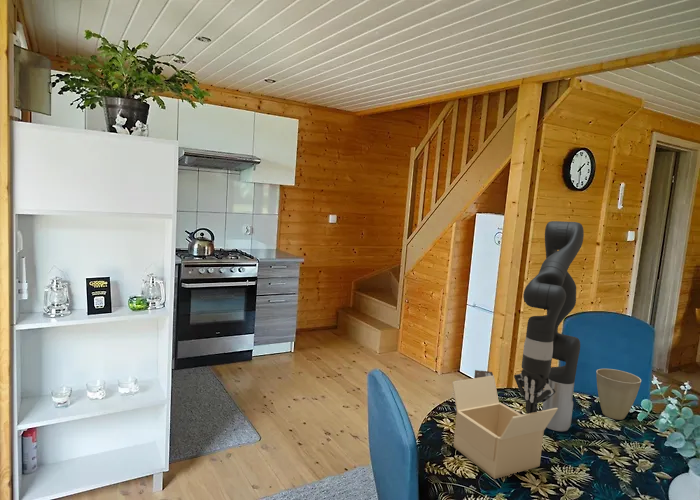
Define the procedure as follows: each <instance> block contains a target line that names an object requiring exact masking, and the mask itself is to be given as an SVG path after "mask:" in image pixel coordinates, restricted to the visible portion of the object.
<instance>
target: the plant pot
mask: <svg viewBox="0 0 700 500" xmlns="http://www.w3.org/2000/svg"><path fill="white" fill-rule="evenodd" d="M595 373H596V388H597V389H596V390H597V394H598V399H599V400H598V401H599V405H600V408H601V411H602V412H601V413H602V415H604V416H605V417H607V418H610V419H612V420H619V421H621V420H625V418H626V417H627V416H628V413H629V412H630V411H631V408H632V407H633V405H634V403H635V400H636V398H637V396H638V394H639V393H638V392H639V390H640V386H641V383H642V379H641V378H640V377H639V376H638V375H635V374H633V373H631V372H627V371H624V370H619V369H615V368H614V369H613V368H599V369H596V371H595Z"/></svg>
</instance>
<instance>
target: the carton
mask: <svg viewBox="0 0 700 500" xmlns="http://www.w3.org/2000/svg"><path fill="white" fill-rule="evenodd" d="M455 415H456V417H455V427H454V436H453V448H454V449H456V450H457V451H458V452H459V453H461V454H462V455H463V456H465V458H467V459H468V460H470V462H472V463H473V464H475V465H476V466H478V467H479V469H481V470H483V472H485V473H486V474H487V475H489V476H490V477H491V478H493V479H494V480H495V479H500V478H503V477H506V476H510V474H511V475H514V474H517V472H518V473H520V472H523V471H528V470H531V469H534V468H538V467H541V466H540V465H541V458H542V457H541V456H542V449H543V441H544V433H545V430H542V431H537V432H533V433H529V434H525V435H520V436H516V437H512V438H508V439H503V440H500V437H501V436H502V434H503V432H504V430H505V429H506V427H507V425H508V423H509V422H510V420H511V418H512V417H514V416H518V415H523V414H522V413H520V412H518V411H517V410H515V409H513V408H512V407H509V406H508V405H506V404H505V403H501V402H499V403H496V404H490V405H485V406H479V407H474V408H469V409H463V410H458V411H457V410H456V414H455ZM513 473H514V474H513Z"/></svg>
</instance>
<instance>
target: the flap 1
mask: <svg viewBox="0 0 700 500" xmlns="http://www.w3.org/2000/svg"><path fill="white" fill-rule="evenodd" d="M451 385H452V390H453V391H452V392H453V396H454V402H455V407H456V412H457V411H458V410H463V409H469V408H474V407H479V406H485V405H490V404H496V403H500V401H499V396H498V391H497V385H496V378H495V375H494V374H493V376H486V377H480V378H474V377H473V378H467V379H466V378H465V379H461V380H454V381H453V380H452V381H451Z"/></svg>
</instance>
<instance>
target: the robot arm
mask: <svg viewBox="0 0 700 500" xmlns="http://www.w3.org/2000/svg"><path fill="white" fill-rule="evenodd" d="M545 225H546V226H545V229H544V247H545V259H544V261H543V263H542V264H541V267H540V269H539V271H538V273H537V274H536V275H535V276H534V277H533V278H532V279H531V280H530V281H529V282H528V284H527V285H526V286H525V288H524V290H523V296H522V297H523V300H524V302H525V304H526V305H527V306H528V307H530V308H534V309H540V310H546V314H545V315H532V316H530V317H529V318H528V321H527V325H526V332H525V333H526V334H525V340H524V342H523V343H524V344H523V350H522V352H523V353H522V357H521V358H522V360H521V368H522V369H521V371H520V373H517V374H514V375H513V377H514V380H515V383H516V386H517V387H518V390H519V393H520V395H521V396H522V397H524V399H525V407H524V408H525V414H528V413H533V412H538V405H539V404H541V403H542V408H541V409H542V410H547V409H552V408H558V410H557V411H556V413H555V414H554V416H553V417H552V419H551V421H550V422H549V424H548V425H547V427H546V429H549V430H552V431H556V432H567V431H568V430H569V429H570V428H571V426H572V425H571V424H572V416H573V411H574V410H573V409H574V401H573V396H574V388H575V380H576V376H577V369H578V361H579V356H580V351H581V341H580V339H579V338H578V337H576V336H572V335H568V334H563V333H559V330H558V329H559V326H560V325H561V323H562V322H563V321H564V319H565V318H566V317H567V316H568V315H569V314H570V313H571V312H572V311H573V309H574V308H575V307H576V303H577V284H576V281H575V280H574V278H573V277H572V276H571V274H570V273H569V271H568V270H569V269H570V266H571V264H572V263H573V261H574V260H575V258H576V257H577V255H578V254H579V251H580V250H581V248H582V245H583V242H584V237H585V234H584V233H585V232H584V227H583V225H582V223H580V222H577V221H559V220H555V221H554V220H553V221H552V220H551V221H549V222H547V223H546V224H545ZM553 359H554V360H557V361H560V362H565V365H562V366H561V365H560V366H552V360H553ZM542 410H541V411H542Z"/></svg>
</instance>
